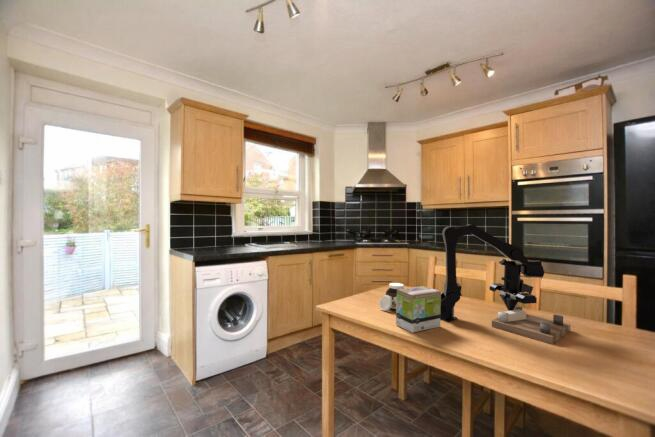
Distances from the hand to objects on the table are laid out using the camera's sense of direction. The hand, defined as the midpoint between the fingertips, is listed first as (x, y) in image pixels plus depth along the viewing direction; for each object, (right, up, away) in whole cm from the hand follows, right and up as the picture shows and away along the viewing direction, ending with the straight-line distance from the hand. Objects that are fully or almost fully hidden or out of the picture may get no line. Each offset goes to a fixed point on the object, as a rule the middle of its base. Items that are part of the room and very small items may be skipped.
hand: (510, 313), depth 120 cm
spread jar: (-45, -4, +18) cm, 48 cm away
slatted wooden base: (+4, -4, -6) cm, 8 cm away
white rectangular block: (-2, -1, -3) cm, 4 cm away
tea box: (-39, -4, -3) cm, 40 cm away
